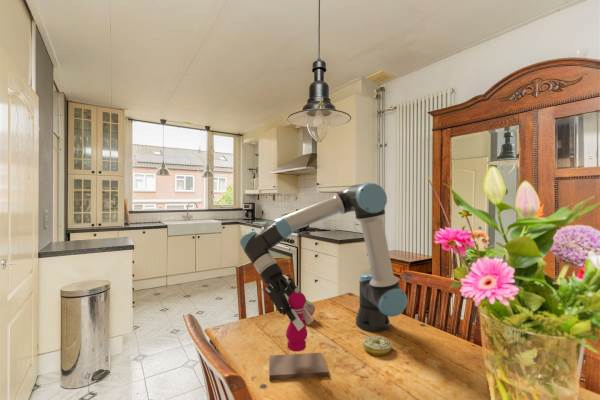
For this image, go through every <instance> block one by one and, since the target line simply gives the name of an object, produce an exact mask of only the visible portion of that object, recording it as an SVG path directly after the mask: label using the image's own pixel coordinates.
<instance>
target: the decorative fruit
mask: <svg viewBox="0 0 600 400" xmlns="http://www.w3.org/2000/svg"><path fill="white" fill-rule="evenodd" d="M304 306H305V307H306V309H307V310H308V312H309V314H310V315H311V317H313V315H314V314H315V311H316V306H315V304H314V303H313V302H311V301H309V300H308V299H306V303H305V305H304Z"/></svg>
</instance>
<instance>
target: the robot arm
mask: <svg viewBox="0 0 600 400" xmlns="http://www.w3.org/2000/svg"><path fill="white" fill-rule="evenodd" d="M387 202H388V196H387V193H386V191H385V190H384V188H383V187H382V186H380V185H379V184H376V183H375V182H374V183H372V182H364V183H362V184H353V185H352V186H349V187H347V188H346V189H343V190H341V191H339V192H337V193H334V194H333V197H330V198H327V199H326V200H322V201H320V202H317V203H315V204H311V205H309V206H307V207H304V208H301V209H298V210H296V211H294V212H290V213H287V214H286V215H283V216H280V217H278V218H275V219H270V220H268V221H266V222H265V223H264V225H263V230H262V231H260V232H259V233H257V232H256V231H249V232H247V233H245V234H244V235H243V236H242V237H241V239H240V240H239V243H240V246H241V248H242V250H243V252H244V253H245V255H246V256H247V258H248V260H249V261H250V262H251V264H252V265H253V267H254V268H255V269H256V271H257V274H259V275H260V278H261V279H262V281H263V282H264V284H266V285H267V286H266V287H265V288H264V290H263V291H264V292H265V293H266V294H267V295H268V296H269V299H270V300H271V301H272V303H273V304H274V306H275V308H276V310H278V313H279V314H281V315H283V316H285V315H286V316H287V318H288V319H289V320H291V321H292V322H293V324H294V325H295V327H296V328H297V330H298V331H299V330H300V329H302V328H303V327H304V324H305V323H306V325H307V326H308V325H310V324H311V323H312V322H313V321H314V318H313V316H311V315H310V314H309V312H308V310H307V309H306V307H305V306H304V312H303V321H305V322H304V324H303V323H302V321H301V320H300V318H299V317H298V315H297V314H296V312H295V311H294V309H292V310H291V308H290V305H289V303H288V299H287V297H288V298H289V296H290V294H292V293H294V292H295V288H298V287H297V285H296V284H295V283H294V281H293V278H292V277H289V278H286V277H285V276H284V275H283V270H282V268H281V267H280V265H279V264H278V263H277V261H276V259H275V258H274V256H273V255H272V253H271V252H270V250H272V249H273V248H274V247H276V246H277V245H279V244H280V243H281V242H283V241H284V240H285V239H287V238H288V237H289V236H291V235H292V234H293V232H294V231H298V230H300V229H302V228H304V227H308V226H309V225H312V224H315V223H317V222H320V221H323V220H325V219H328V218H330V217H333V216H335V215H338V214H341V215H344V214H347V213H351V212H354V215H355V219H356V220H357V221H358V222H360V224H361V225H360V226H361V229H362V235H363V239H364V244H365V249H366V253H367V258H368V262H369V267H370V272H371V273H364V274H361V275H360V276H359V281H358V282H359V307H358V310H357V314H356V316H355V325H356V327H358V328H360V329H362V330H365V331H368V332H369V331H370V332H375V333H376V332H378V333H379V332H384V331H387V330H389V329H390V327H391V326H390V325H391V322H390V318H392V317H397V316H399V315H401V314H402V313H403V312H404V311H405V309H406V307H407V305H408V296H407V294H406V293H405V291H404V290H402V289H401V285H400V281H399V278H398V277H397V276H396V275H394V271H393V266H392V261H391V260H392V259H391V256H390V251H389V246H388V241H387V237H386V236H387V235H386V232H385V226H384V221H383V218H384V216H385V215H386V210H385V207H386V205H387Z"/></svg>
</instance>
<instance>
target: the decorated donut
mask: <svg viewBox="0 0 600 400" xmlns="http://www.w3.org/2000/svg"><path fill="white" fill-rule="evenodd" d="M362 345H363V349H364V350H365V351H366V352H367V353H369V354H371V355H373V356H377V357H378V356H379V357H382V356H388V354H390V352H391V351H392V348H393V344H392V343H391V342H390V340H388V338H387V339H386V338H385V337H382V336H379V335H377V336H376V335H374V336H373V335H372V336H367V337H365V338H364V339H363V341H362Z"/></svg>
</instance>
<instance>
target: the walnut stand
mask: <svg viewBox="0 0 600 400" xmlns="http://www.w3.org/2000/svg"><path fill="white" fill-rule="evenodd" d="M268 362H269V363H268V364H269V365H268V366H269V367H268V369H269V372H268V373H269V376H268V377H269V378H268V379H269V381H277V380H294V379H309V378H310V379H313V378H323V377H324V378H325V377H326V378H327V377H328V378H329V375H330V373H329V369H328V366H327V363H326V361H325V357H324V354H323V352H312V353H311V352H309V353H307V352H306V353H294V354H293V353H290V354H288V353H287V354H271V355H270V354H269V358H268Z"/></svg>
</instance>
